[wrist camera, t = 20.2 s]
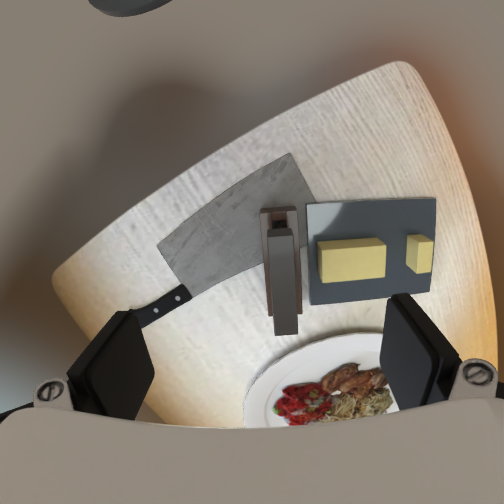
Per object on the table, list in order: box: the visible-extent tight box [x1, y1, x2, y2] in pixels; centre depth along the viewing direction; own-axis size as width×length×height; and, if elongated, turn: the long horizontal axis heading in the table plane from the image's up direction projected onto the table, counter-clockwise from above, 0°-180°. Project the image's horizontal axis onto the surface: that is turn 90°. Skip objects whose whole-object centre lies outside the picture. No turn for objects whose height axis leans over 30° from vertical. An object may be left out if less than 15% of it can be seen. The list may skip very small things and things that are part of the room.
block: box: [259, 206, 302, 316], centre depth 33 cm, size 4×12×3 cm, turn 6°
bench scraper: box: [267, 220, 298, 336], centre depth 30 cm, size 2×10×9 cm, turn 5°
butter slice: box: [406, 234, 434, 274], centre depth 31 cm, size 2×4×3 cm, turn 6°
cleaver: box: [129, 153, 316, 329], centre depth 35 cm, size 29×1×10 cm
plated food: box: [243, 332, 400, 428], centre depth 39 cm, size 30×30×3 cm
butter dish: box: [305, 198, 436, 305], centre depth 33 cm, size 16×12×1 cm
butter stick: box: [317, 237, 386, 283], centre depth 32 cm, size 7×4×3 cm, turn 96°
